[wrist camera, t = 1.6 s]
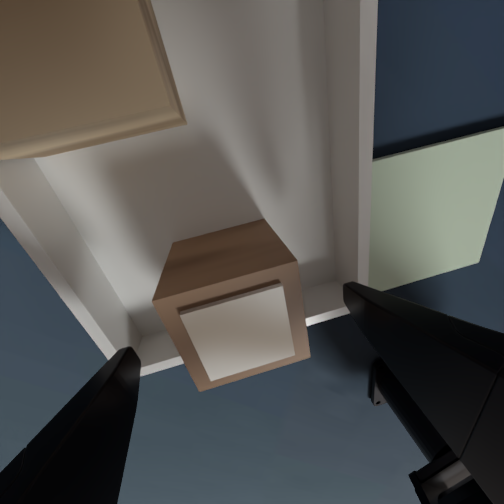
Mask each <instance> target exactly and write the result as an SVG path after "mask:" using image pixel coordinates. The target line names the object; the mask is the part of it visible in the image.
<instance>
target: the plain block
mask: <svg viewBox="0 0 504 504" xmlns="http://www.w3.org/2000/svg"><path fill="white" fill-rule="evenodd" d="M182 125H187V121H186V117H185V114H184V111H183V107H182V104H181V101H180V97H179V94H178V91H177V87H176V84H175V80H174V77H173V74H172V70H171V67H170V64H169V60H168V57H167V54H166V50H165V47H164V44H163V40H162V37H161V33H160V30H159V27H158V23H157V20H156V17H155V13H154V10H153V7H152V3H151V0H0V160H8V159H23V158H38V157H47V156H51V155H56V154H60V153H65V152H69V151H73V150H78V149H82V148H86V147H91V146H95V145H99V144H104V143H108V142H113V141H117V140H121V139H126V138H130V137H134V136H139V135H143V134H148V133H152V132H156V131H161V130H165V129H169V128H174V127H178V126H182Z"/></svg>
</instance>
